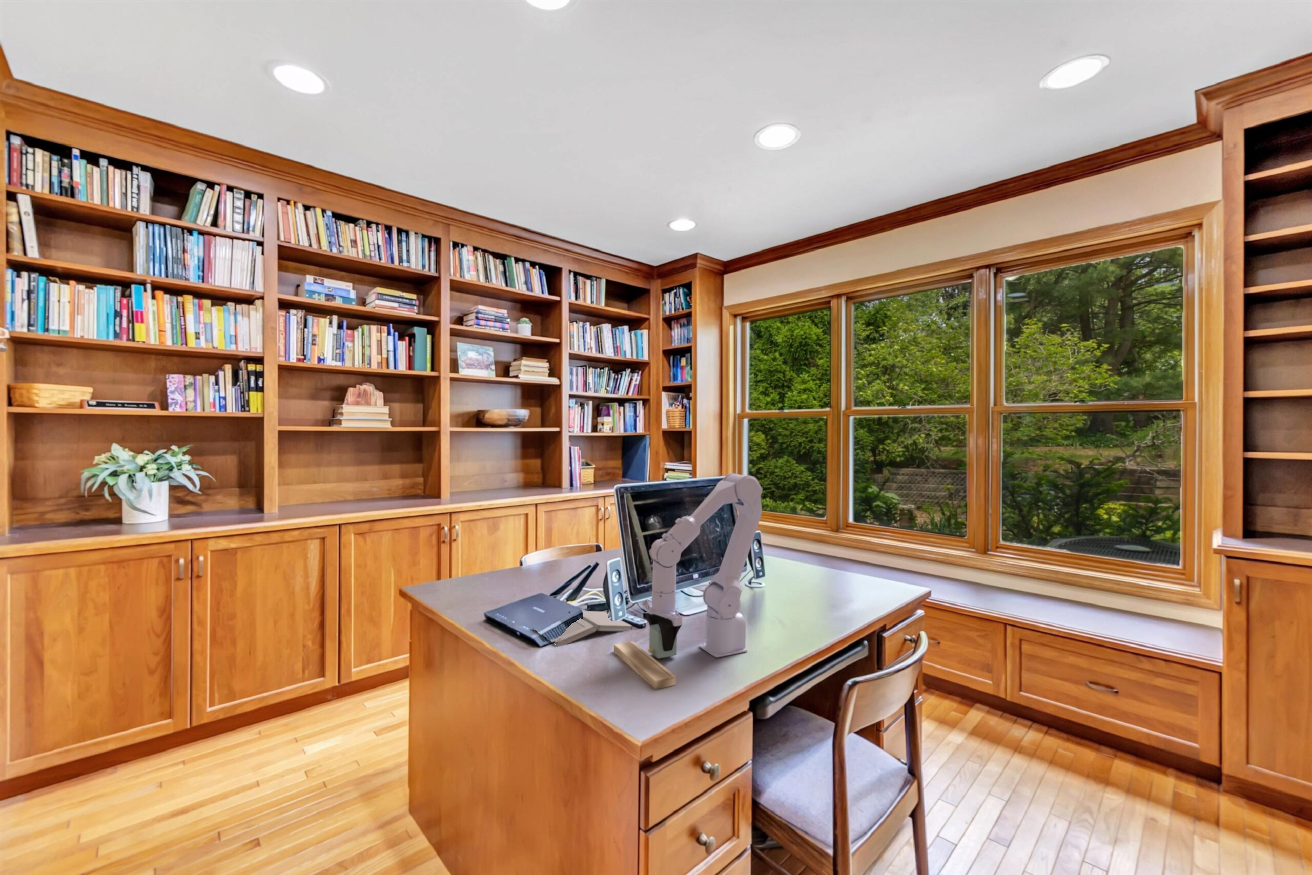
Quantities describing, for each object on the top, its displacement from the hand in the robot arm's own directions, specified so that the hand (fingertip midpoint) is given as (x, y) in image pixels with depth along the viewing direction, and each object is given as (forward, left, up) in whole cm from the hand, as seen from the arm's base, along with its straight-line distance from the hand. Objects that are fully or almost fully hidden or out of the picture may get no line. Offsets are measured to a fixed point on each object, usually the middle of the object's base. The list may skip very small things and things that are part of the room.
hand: (662, 646), depth 132 cm
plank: (+7, +3, -2) cm, 8 cm away
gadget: (+11, -26, -3) cm, 28 cm away
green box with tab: (0, 0, -2) cm, 2 cm away
